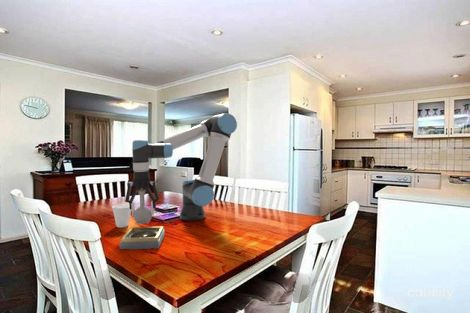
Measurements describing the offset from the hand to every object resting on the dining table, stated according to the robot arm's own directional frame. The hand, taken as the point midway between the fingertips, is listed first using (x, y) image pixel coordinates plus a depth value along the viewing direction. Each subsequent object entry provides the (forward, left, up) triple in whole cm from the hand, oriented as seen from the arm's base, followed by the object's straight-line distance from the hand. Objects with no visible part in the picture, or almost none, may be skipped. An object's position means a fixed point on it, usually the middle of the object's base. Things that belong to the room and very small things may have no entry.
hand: (143, 215), depth 132 cm
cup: (+14, -11, -9) cm, 19 cm away
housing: (-3, +14, -9) cm, 17 cm away
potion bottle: (0, 0, -4) cm, 4 cm away
